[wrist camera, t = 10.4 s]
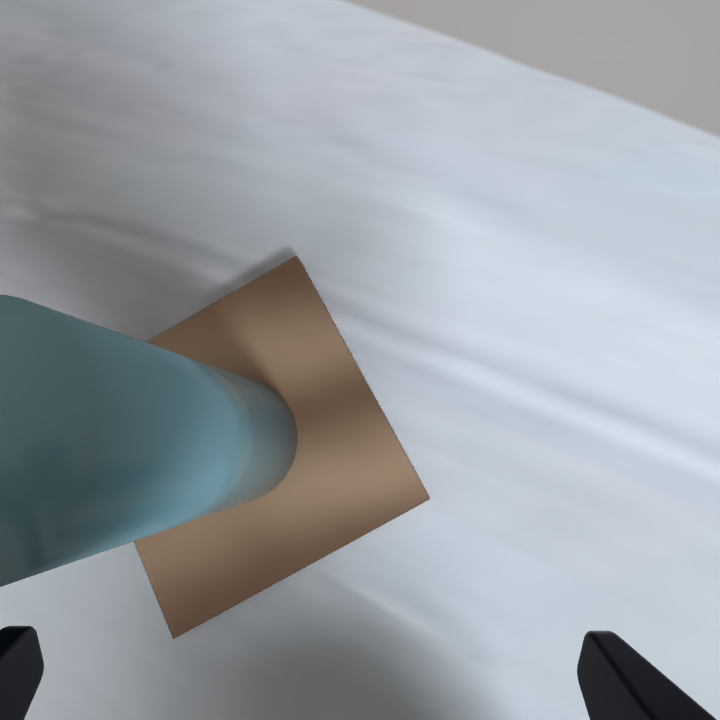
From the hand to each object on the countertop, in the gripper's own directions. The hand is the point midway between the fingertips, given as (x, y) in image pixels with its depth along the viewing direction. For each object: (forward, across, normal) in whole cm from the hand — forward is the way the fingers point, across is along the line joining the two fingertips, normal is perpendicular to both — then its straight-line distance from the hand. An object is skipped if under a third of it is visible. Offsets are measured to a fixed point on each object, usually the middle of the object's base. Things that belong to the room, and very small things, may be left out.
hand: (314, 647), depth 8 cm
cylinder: (+13, +4, +3) cm, 14 cm away
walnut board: (+14, +4, +4) cm, 15 cm away
